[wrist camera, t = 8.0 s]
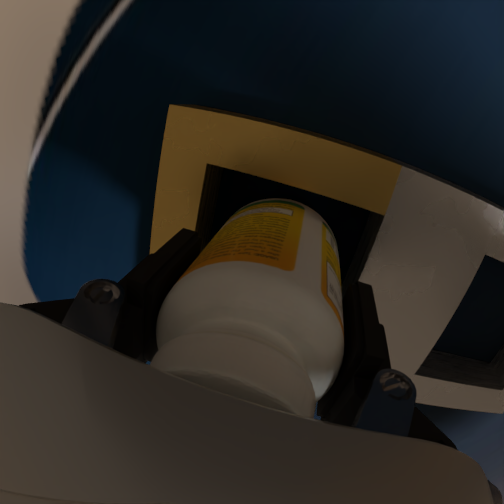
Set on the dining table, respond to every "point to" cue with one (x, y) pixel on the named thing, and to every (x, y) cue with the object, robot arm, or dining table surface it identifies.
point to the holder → (371, 242)
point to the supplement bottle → (259, 310)
